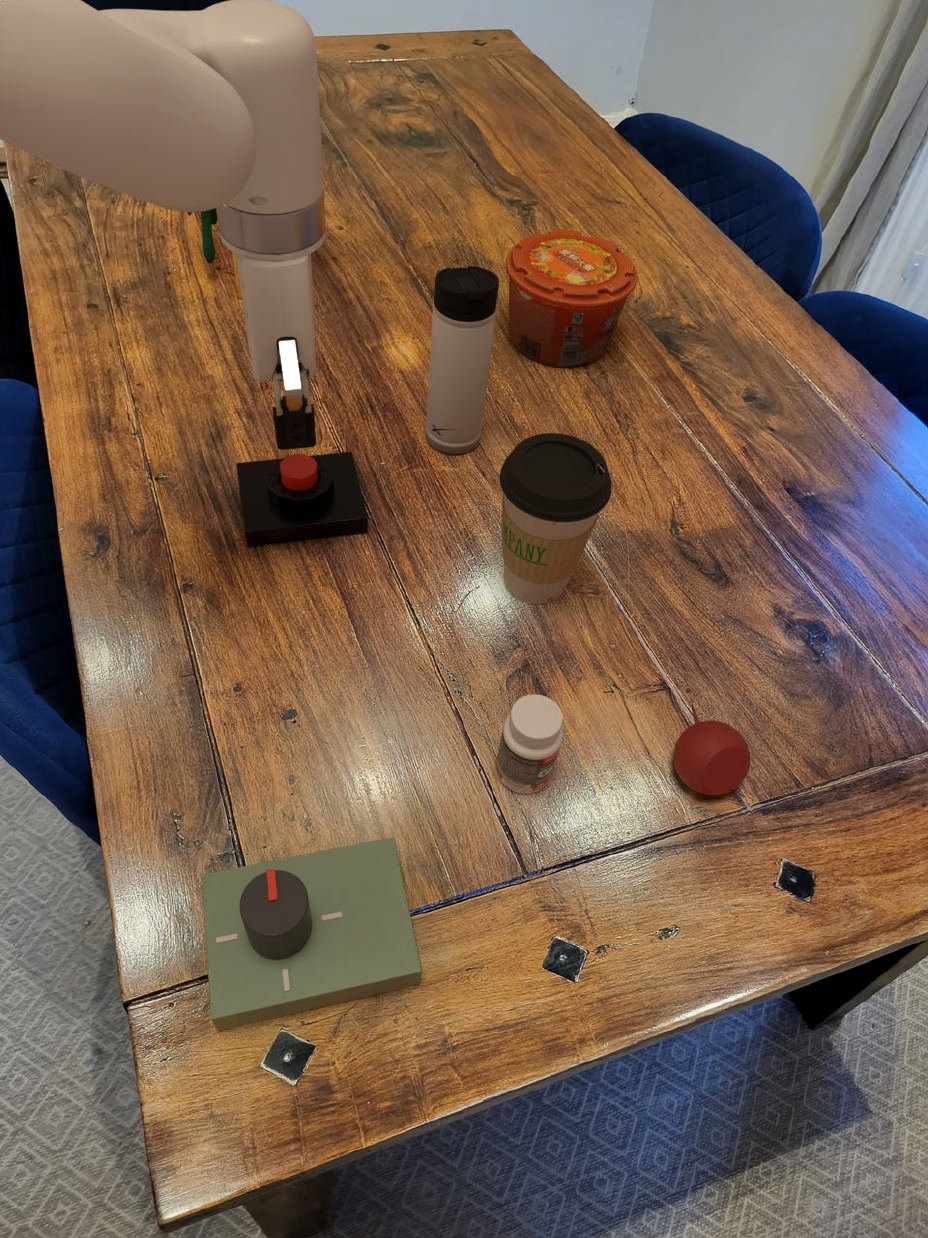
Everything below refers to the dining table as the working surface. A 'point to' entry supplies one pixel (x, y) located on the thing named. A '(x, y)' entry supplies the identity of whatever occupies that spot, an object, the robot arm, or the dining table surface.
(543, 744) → the pill bottle
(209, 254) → the toys
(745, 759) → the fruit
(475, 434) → the travel mug
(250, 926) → the knob
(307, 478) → the button
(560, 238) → the food container
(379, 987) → the panel
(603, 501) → the coffee cup
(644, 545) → the dining table surface
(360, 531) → the switch block
